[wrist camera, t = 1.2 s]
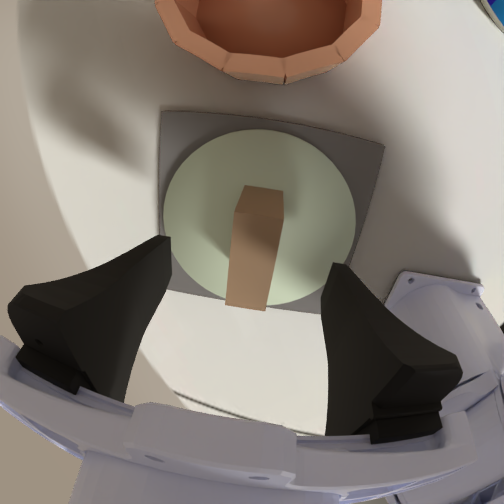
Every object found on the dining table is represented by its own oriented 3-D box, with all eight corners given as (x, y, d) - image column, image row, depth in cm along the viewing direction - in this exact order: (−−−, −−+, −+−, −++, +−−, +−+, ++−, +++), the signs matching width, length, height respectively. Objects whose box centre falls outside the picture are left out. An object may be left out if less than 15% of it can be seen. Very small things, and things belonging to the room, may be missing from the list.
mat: (381, 144, 13) (385, 146, 13) (328, 310, 19) (329, 315, 19) (165, 110, 13) (161, 111, 13) (165, 284, 19) (163, 288, 19)
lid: (374, 152, 13) (406, 172, 9) (325, 309, 19) (331, 356, 15) (169, 120, 13) (131, 130, 9) (169, 284, 19) (148, 327, 15)
